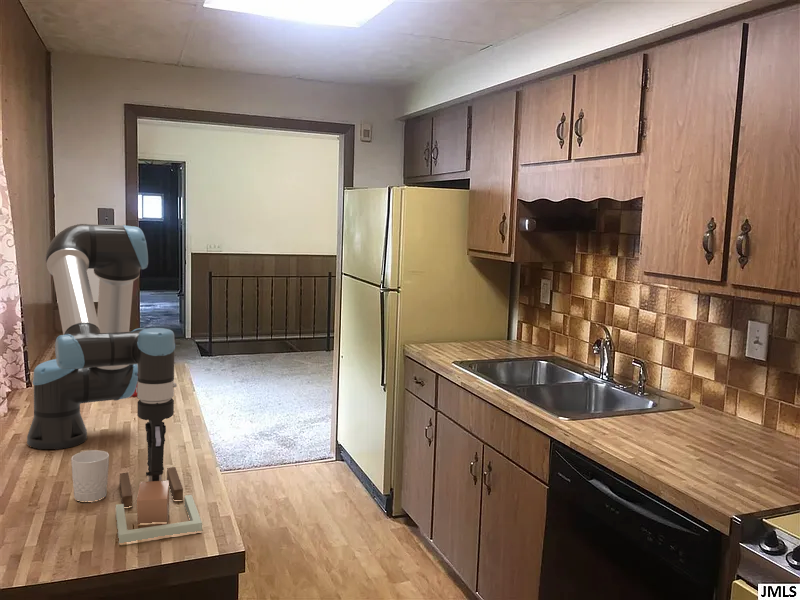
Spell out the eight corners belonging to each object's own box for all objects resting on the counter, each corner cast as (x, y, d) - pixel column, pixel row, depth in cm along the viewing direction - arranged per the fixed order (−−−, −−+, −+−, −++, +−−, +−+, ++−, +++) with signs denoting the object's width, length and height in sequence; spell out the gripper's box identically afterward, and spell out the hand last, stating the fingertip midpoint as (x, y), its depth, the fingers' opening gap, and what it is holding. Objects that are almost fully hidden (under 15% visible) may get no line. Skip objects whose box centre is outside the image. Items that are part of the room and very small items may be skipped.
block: (137, 526, 141) (136, 500, 138) (140, 506, 146) (139, 481, 143) (167, 524, 142) (167, 498, 140) (169, 505, 148) (168, 480, 145)
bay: (119, 546, 132) (119, 535, 132) (115, 515, 145) (115, 504, 145) (201, 533, 139) (202, 522, 139) (191, 504, 152) (191, 494, 152)
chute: (122, 509, 148) (122, 496, 147) (119, 485, 160) (119, 473, 160) (182, 501, 154) (183, 488, 153) (175, 478, 166) (175, 466, 166)
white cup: (114, 490, 157) (114, 450, 156) (100, 505, 149) (100, 463, 148) (81, 489, 157) (80, 449, 156) (65, 503, 149) (64, 461, 148)
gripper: (177, 405, 140) (175, 510, 143) (170, 390, 152) (168, 487, 154) (139, 408, 137) (139, 515, 140) (135, 392, 148) (134, 491, 151)
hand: (154, 500), depth 147 cm, fingers closed
